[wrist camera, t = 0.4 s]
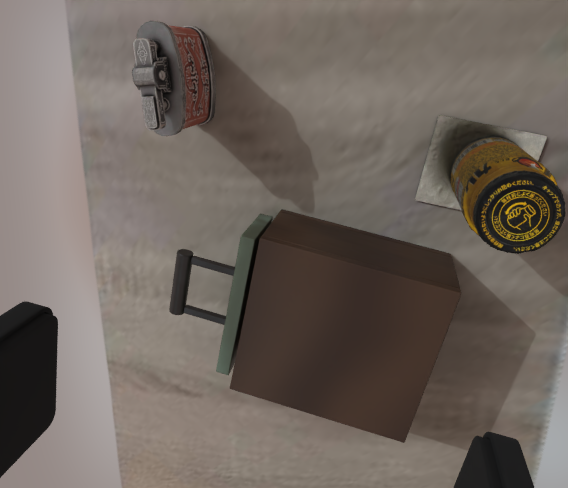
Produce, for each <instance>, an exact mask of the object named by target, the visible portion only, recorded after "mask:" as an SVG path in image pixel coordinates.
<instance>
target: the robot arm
mask: <svg viewBox="0 0 568 488" xmlns="http://www.w3.org/2000/svg"><path fill="white" fill-rule="evenodd" d="M57 336H58V320H57V318H56V317H55V316H53V313H52V310H51V309H50V308H48V307H45V306H41V305H37V304H34V303H30V302H22V303H20V304H18V305H17V306H15V307H14V308H12V309H10V310H9V311H7V312H6V313H4V314H2V315H1V316H0V477H1V476H2V475H3V474H4V473H5V472H6V471H7V470H8V469H9V468H10V467H11V466H12V465H13V464H14V463H15V462H16V461H17V459H19V458H20V456H21V455H22V454H23V453H24V452H25V451H26V450H27V449H28V448H29V447H30V446H31V445H32V444H33V443H34V442H35V441H36V440H37V439H38V438H39V437H40V436H41V435H42V433H43V432H44V431H45V430H46V429H47V428H48V427H49V426H50V424H51V423H52V421H53V418H54V415H55V410H56V374H57V372H56V370H57ZM454 488H534V485H533V482H532V480H531V477H530V474H529V471H528V468H527V465H526V462H525V459H524V456H523V453H522V450H521V447H520V444H519V442H518V440H516V439H513V438H510V437H506V436H503V435H499V434H496V433H492V432H486V433H485V434H484V436H483V437H479V436H475V438H474V439H473V441H472V443H471V446H470V448H469V451H468V453H467V456H466V458H465V461H464V463H463V466H462V468H461V471H460V473H459V476H458V478H457V480H456V483H455V485H454Z"/></svg>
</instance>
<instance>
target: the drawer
mask: <svg viewBox="0 0 568 488" xmlns="http://www.w3.org/2000/svg"><path fill="white" fill-rule="evenodd" d="M271 223H272V217H271V216H268V215H264V214H260V215H259V216H258V217H257V218H256V219H255V221H254V222H253V223H252V224H251V225H250V226H249V227H248V229H247V230H246V231H245V232H244V233H243V234H242V236H241V239H240V244H239V249H238V255H237V260H236V266H235V267H233V266H229V265H225V264H222V263H218V262H215V261H211V260H208V259H204V258H200V257H197V256H193V252H192V251H190V250H186V249H181V250H178V251H177V257H176V264H175V272H174V279H173V287H172V294H171V302H170V309H169V310H170V312H171V313H172V314H174V315H182V314H184V313H186V314H189V315H193V316H196V317H200V318H203V319H206V320H210V321H213V322H216V323H220V324H223V325H224V331H223V336H222V342H221V347H220V353H219V358H218V363H217V369H216V372H219V373H222V374H226V375H229V373H230V371H231V369H232V368H233V366H234V364H235V360H236V355H237V350H238V345H239V340H240V335H241V330H242V325H243V320H244V315H245V310H246V305H247V300H248V295H249V290H250V285H251V280H252V275H253V270H254V265H255V260H256V255H257V250H258V245H259V240H260V238H261V236H262V235H263V234H264V232H265V231H266V230H267V228H268V227H269V226H270V224H271ZM192 264H194V265H197V266H201V267H204V268H208V269H211V270H215V271H218V272H222V273H225V274H229V275H232V276H234V277H233V282H232V287H231V293H230V298H229V304H228V309H227V315H226V316H223V315H220V314H217V313H213V312H210V311H206V310H203V309H200V308H196V307H193V306H189V305H186V301H187V294H188V287H189V280H190V274H191V267H192Z"/></svg>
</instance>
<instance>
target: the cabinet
mask: <svg viewBox="0 0 568 488" xmlns="http://www.w3.org/2000/svg"><path fill="white" fill-rule="evenodd" d="M460 296H461V290H460V286H459V282H458V279H457V275H456V271H455V268H454V264H453V260H452V257H451V254H449V253H445V252H442V251H438V250H434V249H430V248H426V247H423V246H419V245H415V244H411V243H407V242H404V241H400V240H396V239H392V238H388V237H385V236H381V235H377V234H373V233H369V232H366V231H362V230H358V229H354V228H351V227H347V226H343V225H339V224H335V223H332V222H328V221H324V220H320V219H316V218H313V217H309V216H305V215H301V214H297V213H294V212H290V211H286V210H281V211H280V212H279V214H278V215H277V216H276V218H275V219H274V220H273V222H272V223H271V224H270V226H269V227H268V228H267V230H266V231H265V232H264V234H263V235H262V236H261V238H260V240H259V245H258V250H257V255H256V260H255V265H254V270H253V275H252V280H251V285H250V290H249V295H248V300H247V305H246V310H245V315H244V320H243V325H242V330H241V335H240V340H239V345H238V350H237V355H236V360H235V365H234V370H233V375H232V380H231V385H230V389H233V390H236V391H239V392H242V393H245V394H249V395H252V396H255V397H258V398H262V399H265V400H268V401H271V402H275V403H278V404H281V405H284V406H287V407H291V408H294V409H297V410H300V411H304V412H307V413H310V414H313V415H316V416H320V417H323V418H326V419H329V420H333V421H336V422H339V423H342V424H345V425H349V426H352V427H355V428H358V429H362V430H365V431H368V432H371V433H374V434H378V435H381V436H384V437H387V438H391V439H394V440H397V441H400V442H403V443H404V442H405V440H406V437H407V435H408V432H409V429H410V427H411V424H412V421H413V419H414V416H415V414H416V411H417V408H418V406H419V403H420V401H421V398H422V395H423V393H424V390H425V387H426V385H427V382H428V380H429V377H430V374H431V372H432V369H433V367H434V364H435V361H436V359H437V356H438V354H439V351H440V348H441V346H442V343H443V340H444V338H445V335H446V333H447V330H448V327H449V325H450V322H451V320H452V317H453V314H454V312H455V309H456V306H457V304H458V301H459V299H460Z"/></svg>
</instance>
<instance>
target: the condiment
mask: <svg viewBox="0 0 568 488" xmlns="http://www.w3.org/2000/svg"><path fill="white" fill-rule="evenodd" d="M546 138H547V136H543V135H538V134H533V133H528V132H523V131H518V130H513V129H508V128H503V127H498V126H493V125H487V124H482V123H477V122H472V121H467V120H462V119H457V118H451V117H447V116H441V115H439V117H438V120H437V124H436V127H435V130H434V134H433V137H432V141H431V145H430V148H429V152H428V155H427V159H426V162H425V165H424V169H423V173H422V177H421V180H420V184H419V187H418V191H417V194H416V198H415V200H417V201H421V202H425V203H430V204H435V205H439V206H444V207H448V208H453V209H457V210H462V212H463V215H464V217H465V219H466V221H467V223H468V224H469V227H470V228H471V230H473V231H474V232H475V233H476V234H477V235H479V236H480V237H481V238H482V239H483V241H484V242H486V243H487V244H489V245H490V247H493V248H495V249H497V250H500V251H505V252H507V253H508V252H509V253H517V254H519V253H523V252H527V251H535V250H537V249H539V248H541V247H542V246H544V245H546V244H547V243H548V242H549V241H550V240H551V239H552V238H553V237H554V236H555V235H556V234H557V232H558V231H559V229H560V227H561V225H562V223H563V221H564V217H565V202H564V199H563V194H562V193H561V190H560V189H559V188H558V186H557V182H556V181H555V178H554V177H553V175H552V174H551V173H550V172H549V171H548V170H547V168H545V167H544V166H543V165H542V164H541V163H539V162H538V160H539V157H540V155H541V152H542V149H543V147H544V144H545V141H546Z"/></svg>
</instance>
